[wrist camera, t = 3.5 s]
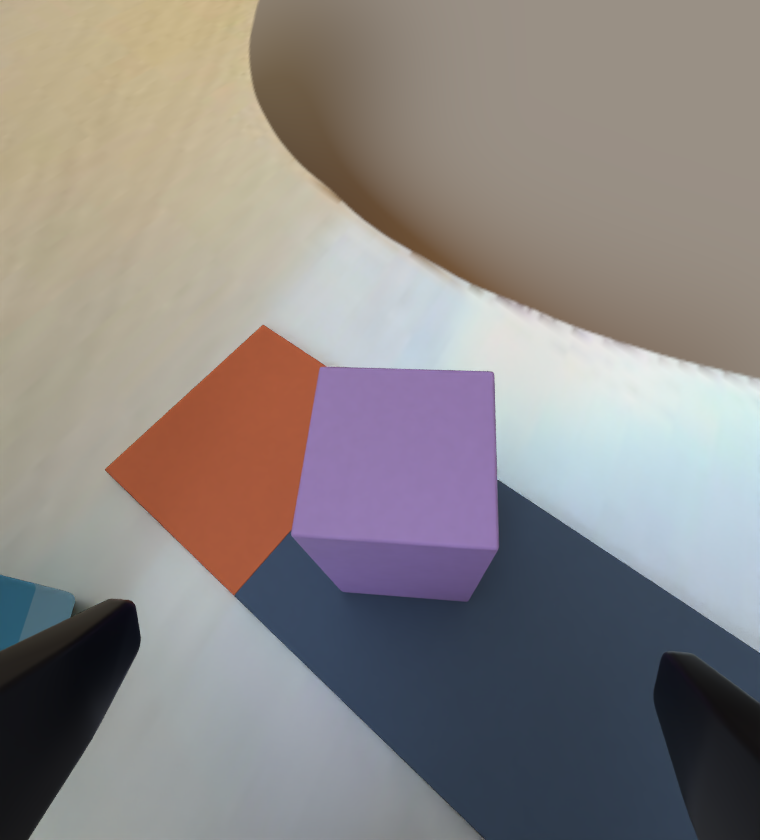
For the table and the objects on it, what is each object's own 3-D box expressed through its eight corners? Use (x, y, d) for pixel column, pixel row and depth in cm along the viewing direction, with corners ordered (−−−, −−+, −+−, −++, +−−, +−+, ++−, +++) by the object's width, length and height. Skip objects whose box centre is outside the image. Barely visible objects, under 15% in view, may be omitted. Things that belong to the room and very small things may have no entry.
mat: (772, 664, 17) (777, 664, 17) (637, 985, 14) (641, 991, 14) (264, 327, 26) (263, 324, 26) (107, 471, 23) (104, 469, 23)
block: (468, 602, 19) (500, 550, 11) (341, 592, 19) (289, 536, 12) (468, 480, 21) (494, 370, 14) (354, 474, 22) (319, 365, 14)
